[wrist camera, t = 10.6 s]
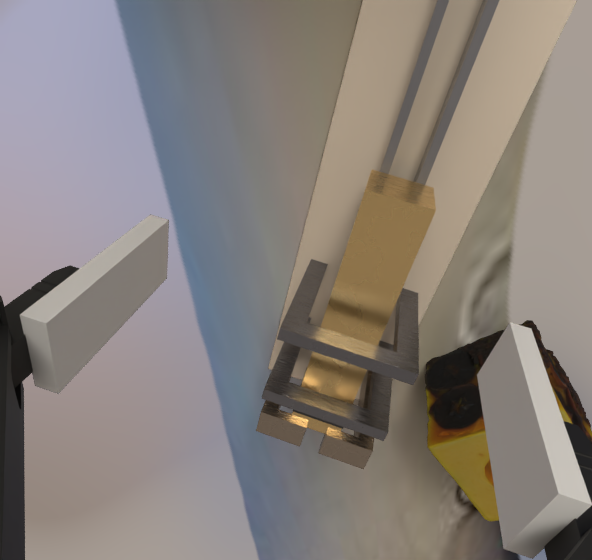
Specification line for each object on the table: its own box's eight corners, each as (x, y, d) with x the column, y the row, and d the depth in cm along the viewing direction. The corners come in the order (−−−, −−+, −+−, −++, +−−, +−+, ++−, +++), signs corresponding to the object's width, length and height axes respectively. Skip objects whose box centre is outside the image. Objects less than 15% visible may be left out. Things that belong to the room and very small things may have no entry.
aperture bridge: (292, 334, 43) (261, 411, 35) (381, 364, 42) (372, 451, 34) (287, 351, 44) (256, 430, 36) (373, 381, 44) (363, 469, 35)
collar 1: (313, 254, 38) (279, 328, 29) (418, 288, 37) (418, 374, 28) (310, 264, 39) (276, 339, 29) (413, 297, 38) (412, 385, 29)
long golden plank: (371, 168, 30) (364, 189, 26) (434, 187, 30) (436, 211, 26) (300, 386, 42) (289, 421, 38) (345, 401, 42) (338, 438, 38)
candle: (531, 316, 36) (565, 403, 28) (582, 398, 39) (627, 499, 31) (421, 359, 41) (422, 445, 33) (474, 429, 44) (487, 525, 36)
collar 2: (298, 308, 41) (263, 389, 32) (394, 339, 41) (387, 432, 31) (295, 316, 42) (261, 398, 33) (390, 347, 41) (383, 440, 32)
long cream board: (402, -146, 24) (400, -168, 22) (619, -96, 23) (645, -112, 21) (270, 363, 46) (261, 384, 43) (380, 401, 45) (377, 425, 42)
